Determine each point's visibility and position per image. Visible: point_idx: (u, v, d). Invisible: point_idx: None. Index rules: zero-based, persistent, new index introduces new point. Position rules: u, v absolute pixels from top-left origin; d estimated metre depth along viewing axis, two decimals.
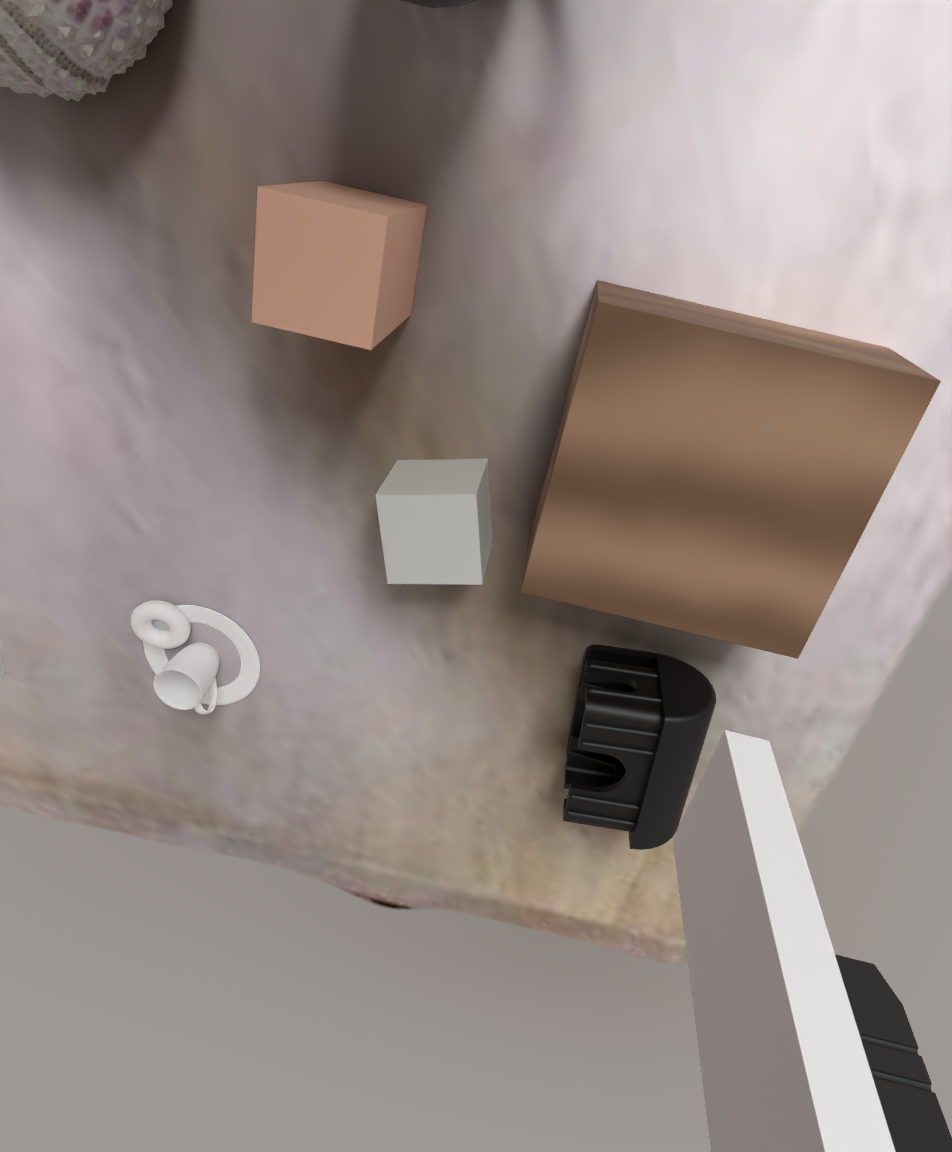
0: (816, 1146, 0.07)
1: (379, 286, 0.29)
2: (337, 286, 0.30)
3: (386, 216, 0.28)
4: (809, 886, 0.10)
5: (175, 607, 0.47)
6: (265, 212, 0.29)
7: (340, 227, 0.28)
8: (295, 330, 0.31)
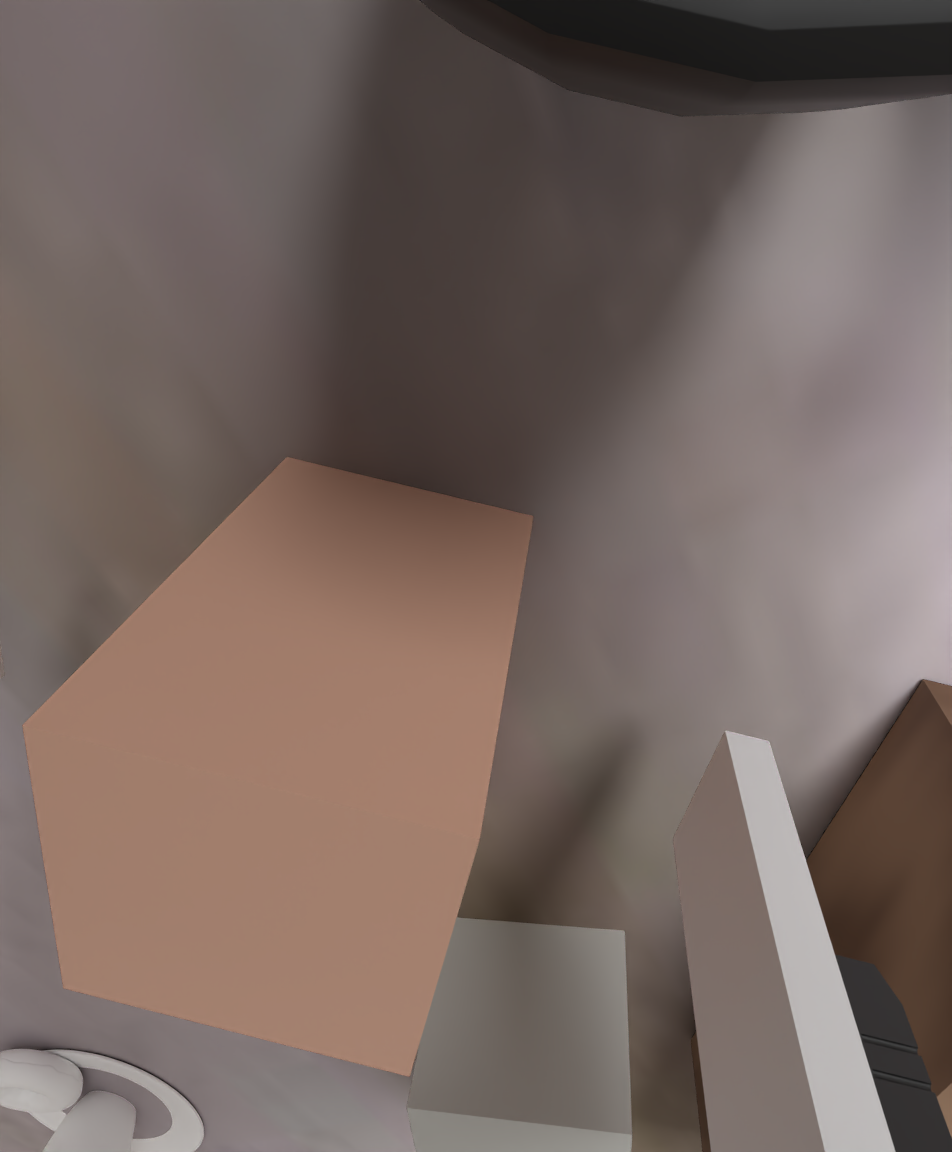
0: (816, 1146, 0.07)
1: None
2: (308, 959, 0.09)
3: (477, 839, 0.08)
4: (809, 886, 0.10)
5: (52, 1064, 0.27)
6: (59, 787, 0.08)
7: (313, 845, 0.08)
8: (189, 1017, 0.10)
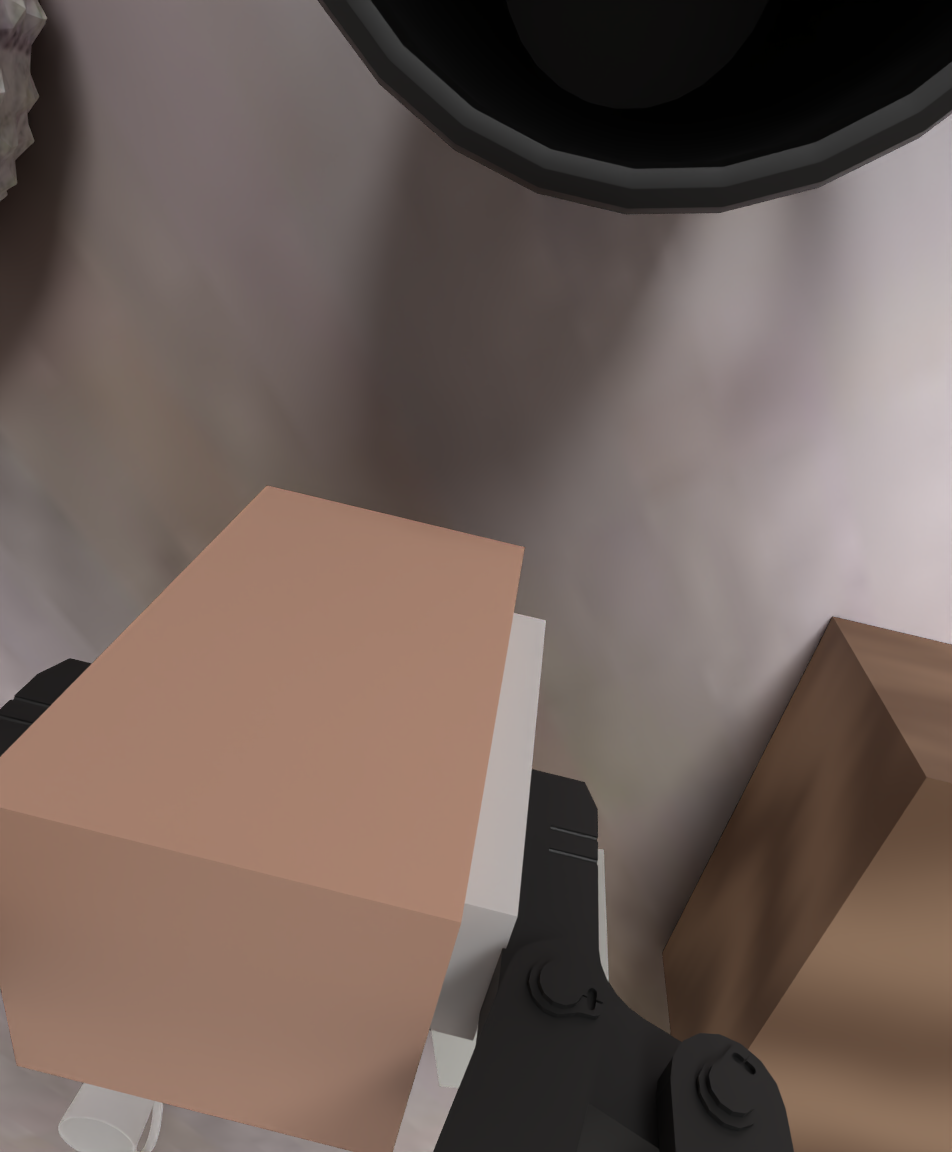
0: None
1: None
2: (277, 1042, 0.09)
3: (459, 922, 0.07)
4: (535, 719, 0.12)
5: None
6: (3, 863, 0.08)
7: (280, 927, 0.08)
8: (153, 1096, 0.10)
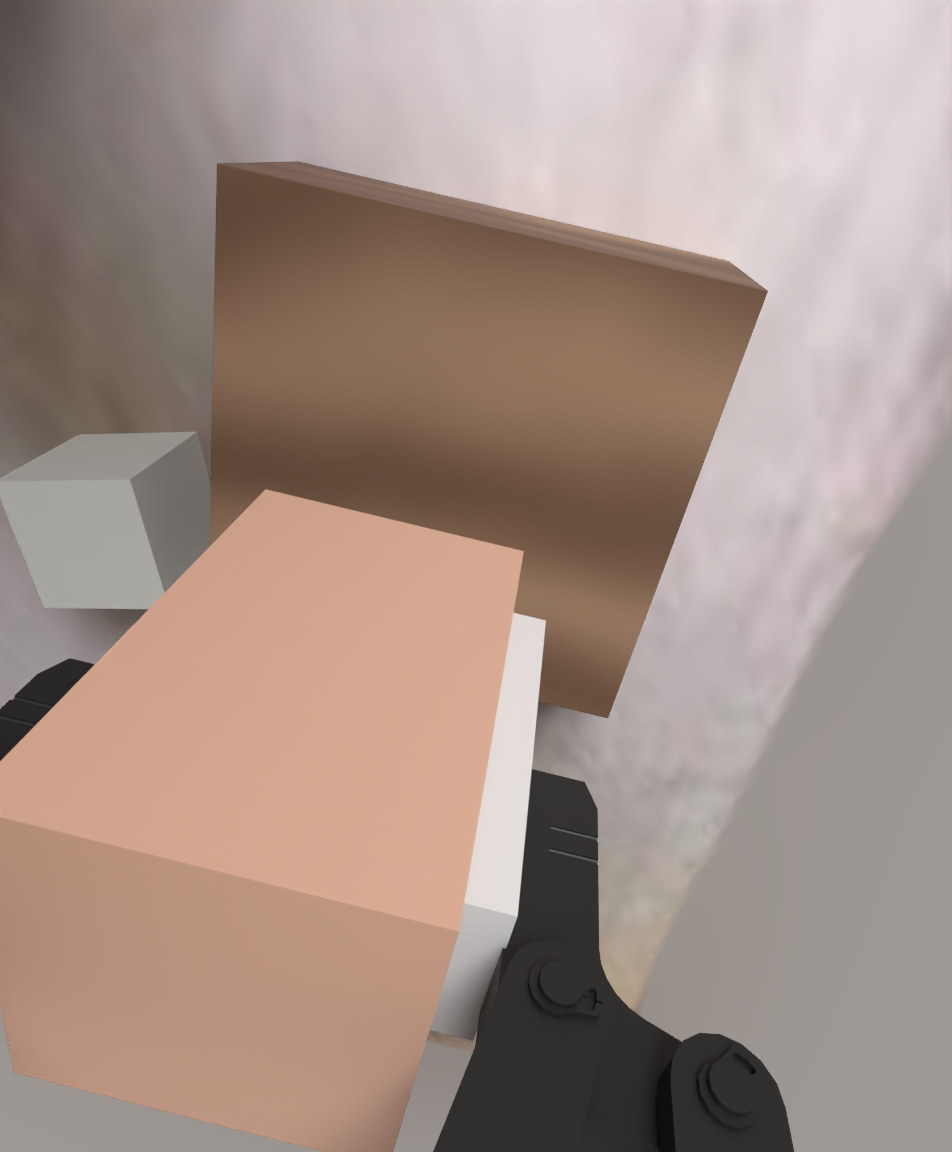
0: None
1: (419, 1059, 0.09)
2: (275, 1048, 0.09)
3: (457, 931, 0.07)
4: (535, 719, 0.12)
5: None
6: None
7: (277, 934, 0.08)
8: (151, 1104, 0.10)
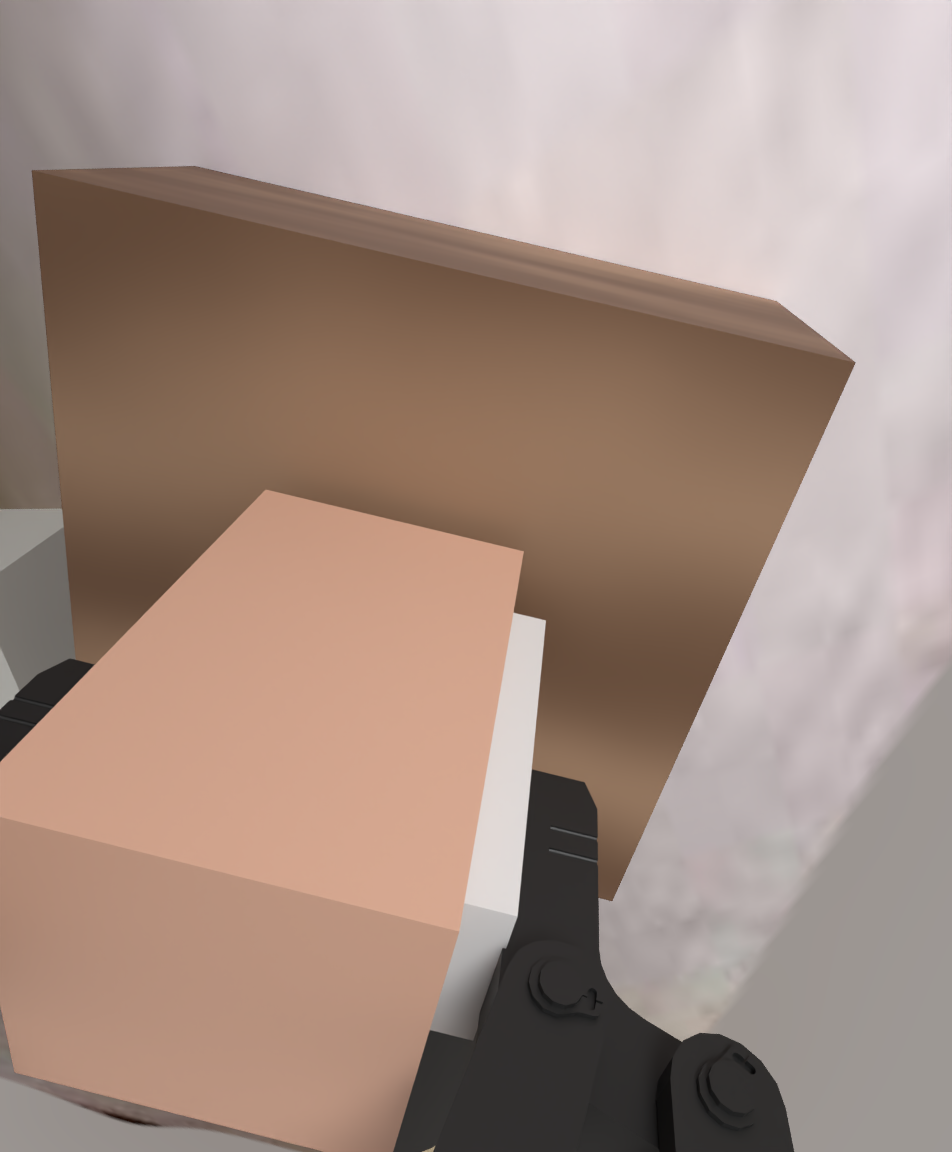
0: None
1: (419, 1059, 0.09)
2: (276, 1048, 0.09)
3: (457, 931, 0.07)
4: (535, 719, 0.12)
5: None
6: (0, 870, 0.08)
7: (278, 934, 0.08)
8: (151, 1103, 0.10)
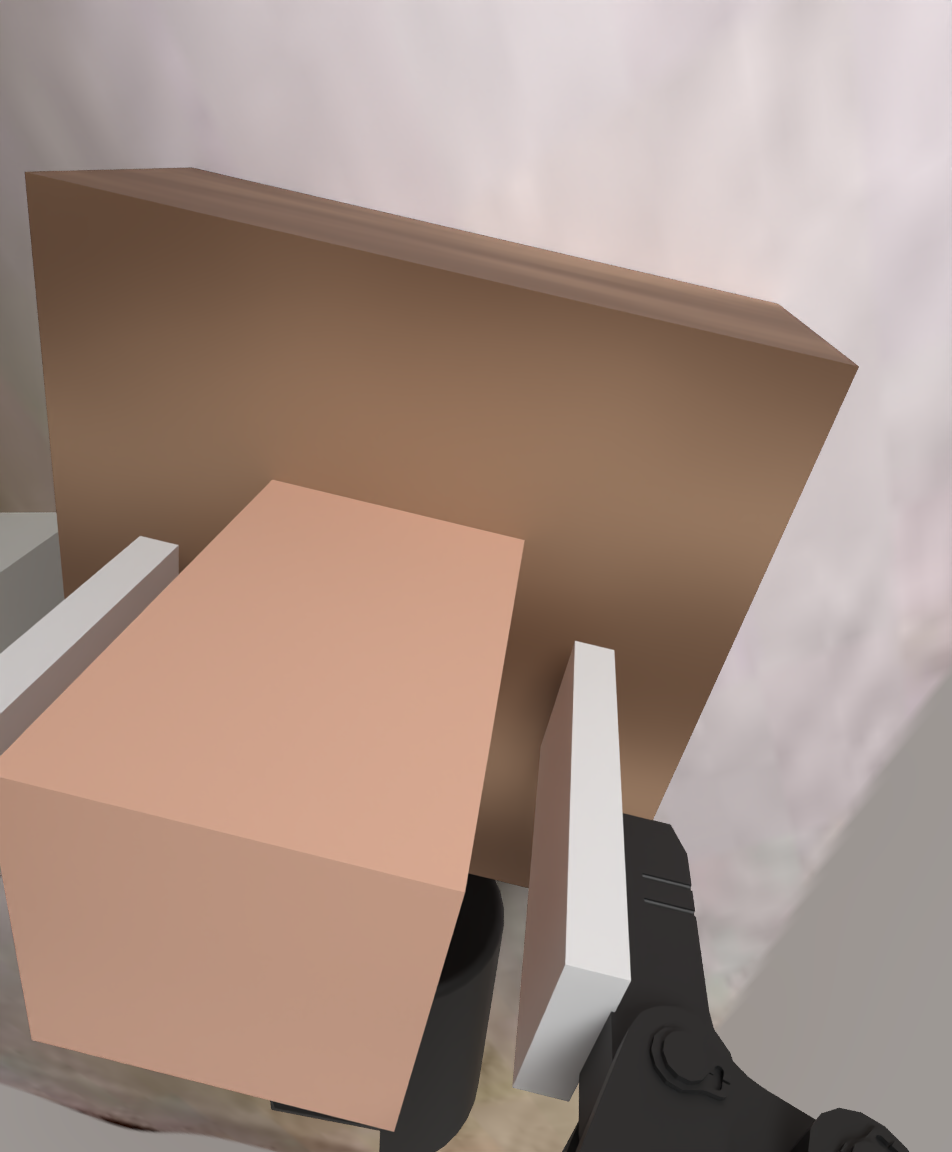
0: (562, 937, 0.09)
1: None
2: (287, 1012, 0.09)
3: (461, 892, 0.08)
4: (617, 758, 0.12)
5: None
6: (23, 837, 0.08)
7: (290, 898, 0.08)
8: (164, 1069, 0.10)
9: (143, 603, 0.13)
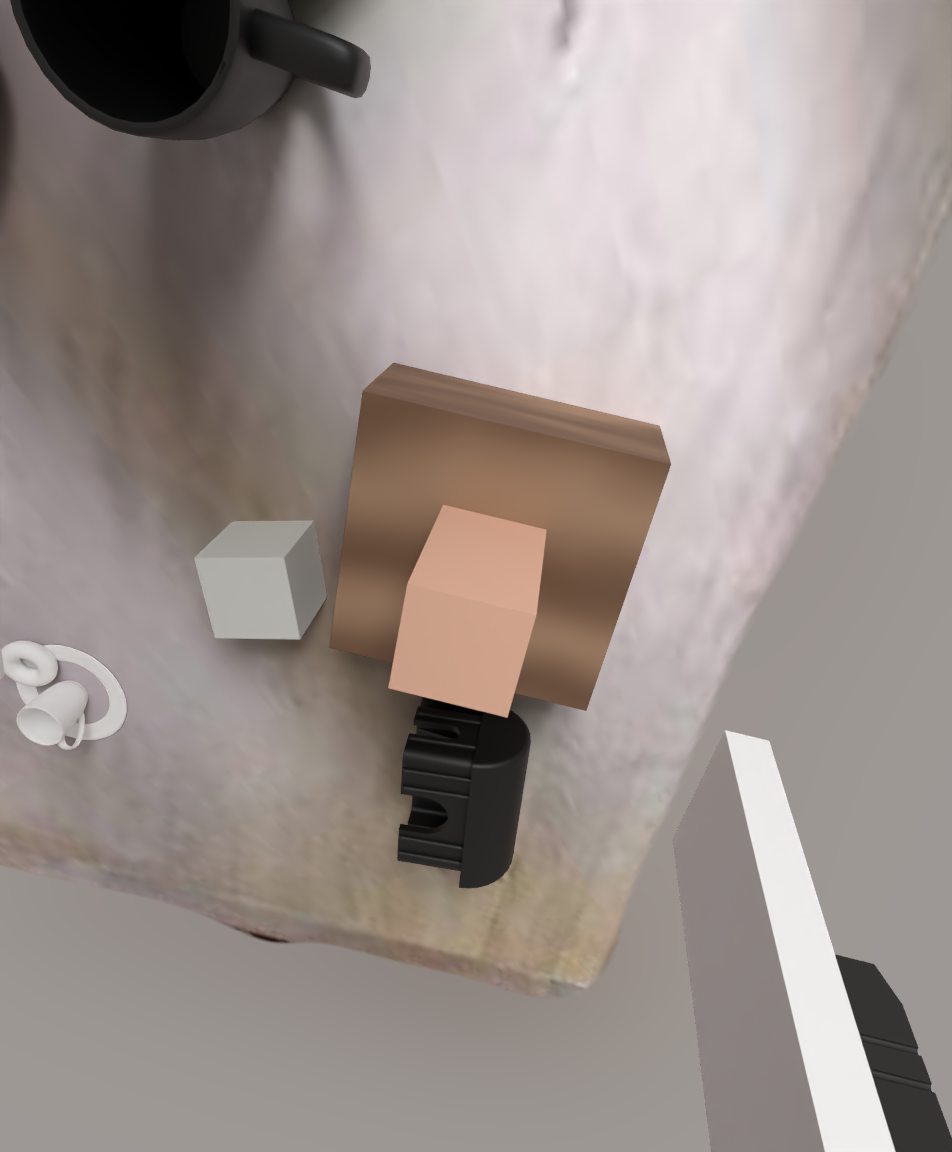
0: (816, 1146, 0.07)
1: (521, 667, 0.30)
2: (479, 665, 0.30)
3: (535, 615, 0.28)
4: (808, 885, 0.10)
5: (41, 647, 0.50)
6: (412, 604, 0.29)
7: (487, 620, 0.29)
8: (432, 697, 0.31)
9: None
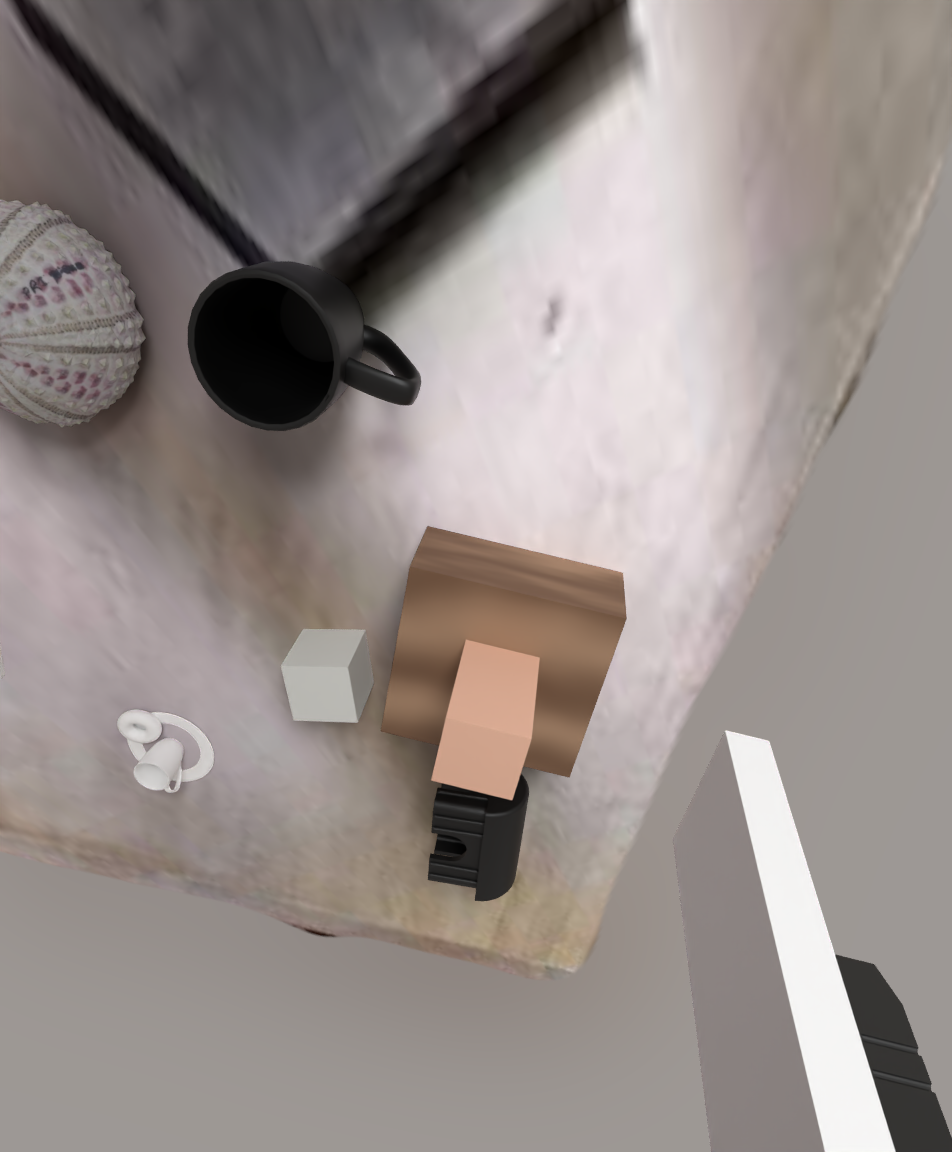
0: (816, 1146, 0.07)
1: (521, 769, 0.44)
2: (493, 768, 0.44)
3: (531, 738, 0.43)
4: (809, 886, 0.10)
5: (150, 714, 0.64)
6: (448, 730, 0.43)
7: (498, 741, 0.43)
8: (461, 786, 0.45)
9: None
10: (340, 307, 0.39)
